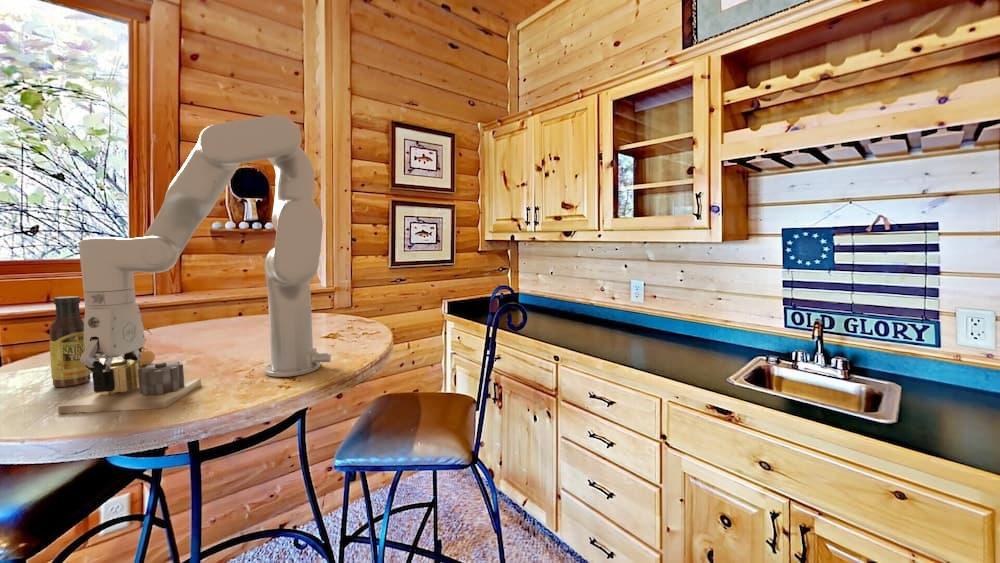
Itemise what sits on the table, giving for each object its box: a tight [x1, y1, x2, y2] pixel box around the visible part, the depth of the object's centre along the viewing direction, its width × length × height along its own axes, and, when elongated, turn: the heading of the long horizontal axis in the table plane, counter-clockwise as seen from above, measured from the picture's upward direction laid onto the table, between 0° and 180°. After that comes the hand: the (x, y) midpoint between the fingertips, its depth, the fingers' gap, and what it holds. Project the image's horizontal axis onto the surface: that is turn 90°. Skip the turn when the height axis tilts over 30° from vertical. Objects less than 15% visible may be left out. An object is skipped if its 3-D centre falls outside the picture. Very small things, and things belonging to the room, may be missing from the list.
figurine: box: [138, 325, 156, 366], centre depth 108 cm, size 8×6×12 cm
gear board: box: [57, 361, 202, 415], centre depth 86 cm, size 18×13×7 cm
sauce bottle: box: [48, 295, 92, 388], centre depth 94 cm, size 6×6×20 cm
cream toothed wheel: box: [94, 359, 142, 394], centre depth 85 cm, size 7×7×5 cm
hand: (118, 383), depth 86 cm, fingers closed on cream toothed wheel, 6 cm apart
